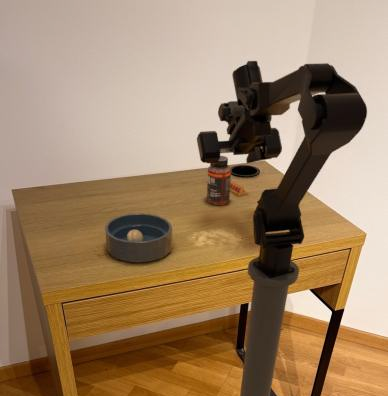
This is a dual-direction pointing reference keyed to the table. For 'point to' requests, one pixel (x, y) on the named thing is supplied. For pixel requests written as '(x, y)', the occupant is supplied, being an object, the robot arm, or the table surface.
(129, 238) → the bead
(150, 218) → the bowl
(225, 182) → the supplement bottle
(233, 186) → the chocolate bar
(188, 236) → the table surface
